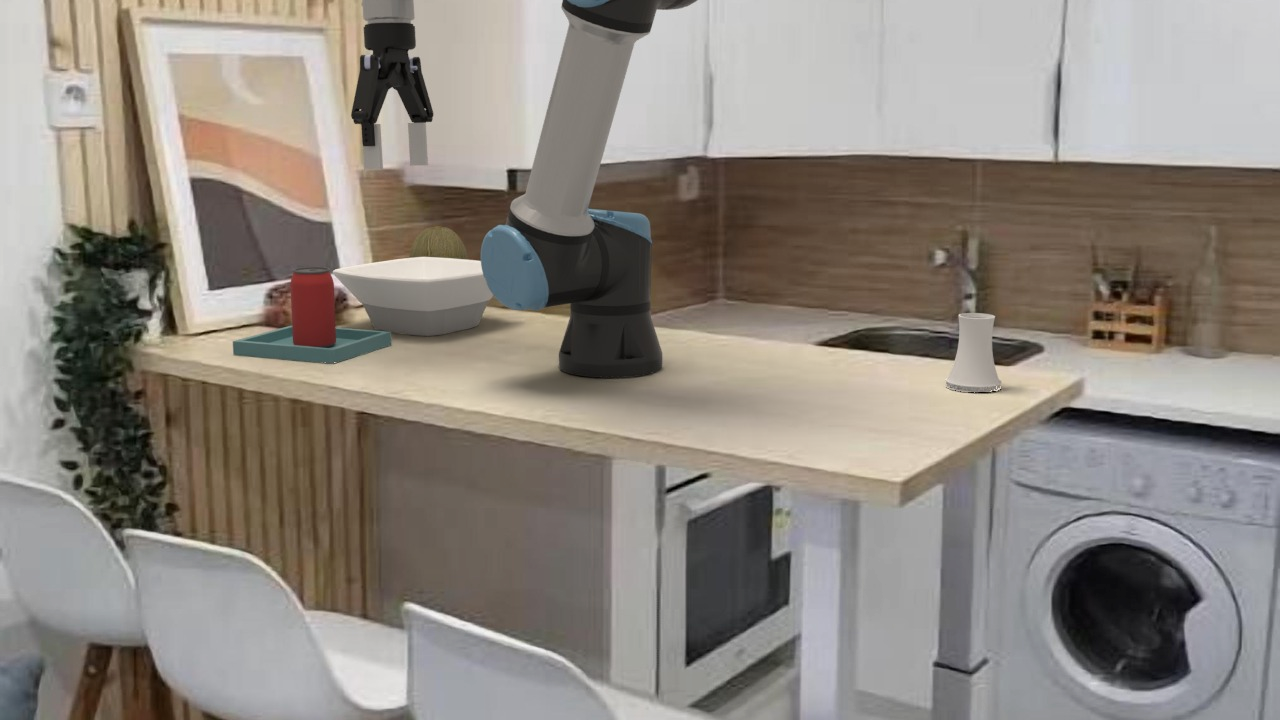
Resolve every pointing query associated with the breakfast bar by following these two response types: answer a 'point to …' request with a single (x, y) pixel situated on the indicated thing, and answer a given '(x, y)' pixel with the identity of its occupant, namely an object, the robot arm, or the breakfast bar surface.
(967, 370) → the cooling tower model
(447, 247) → the fruit
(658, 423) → the breakfast bar surface
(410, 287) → the bowl
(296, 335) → the beer can
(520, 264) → the robot arm
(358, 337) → the tray
